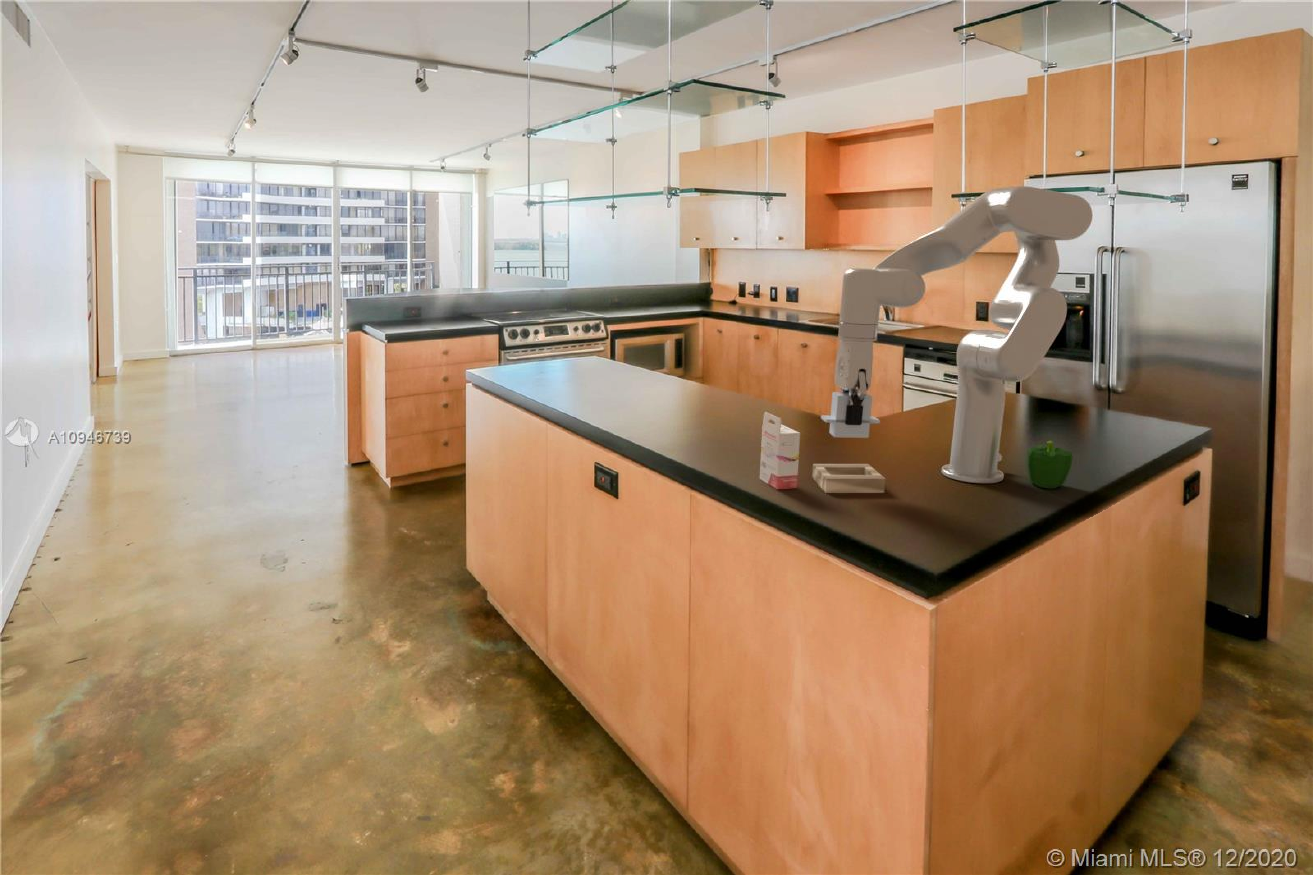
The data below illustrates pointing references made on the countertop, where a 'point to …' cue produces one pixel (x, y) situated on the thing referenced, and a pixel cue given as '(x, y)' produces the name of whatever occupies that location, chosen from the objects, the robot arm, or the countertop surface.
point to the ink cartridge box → (779, 454)
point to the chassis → (848, 478)
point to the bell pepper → (1048, 465)
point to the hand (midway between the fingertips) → (849, 421)
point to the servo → (839, 417)
